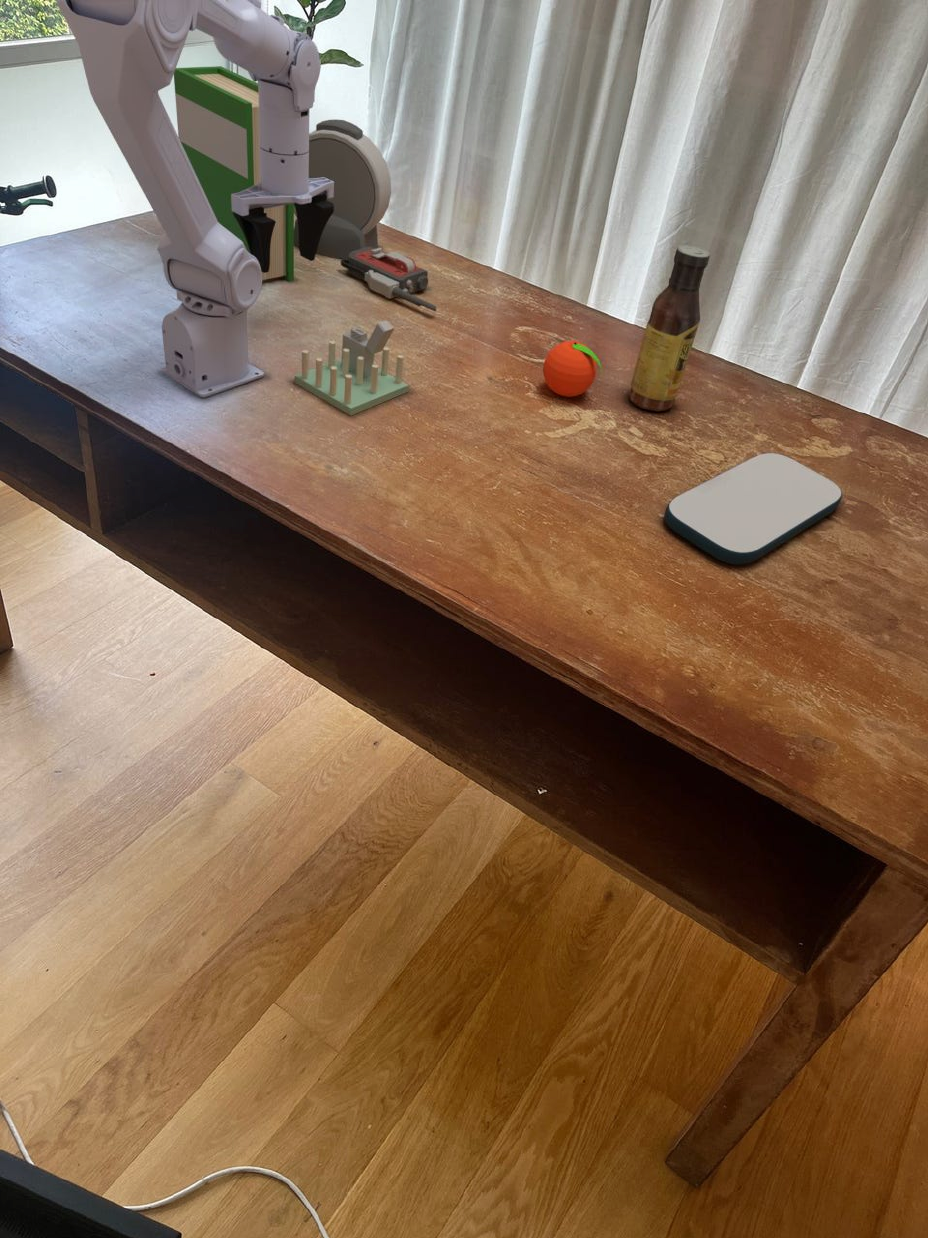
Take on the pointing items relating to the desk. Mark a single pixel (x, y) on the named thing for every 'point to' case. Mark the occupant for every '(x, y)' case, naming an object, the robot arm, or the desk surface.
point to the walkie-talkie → (388, 274)
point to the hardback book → (229, 151)
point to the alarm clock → (348, 187)
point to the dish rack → (351, 381)
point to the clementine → (570, 368)
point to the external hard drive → (752, 507)
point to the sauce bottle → (670, 333)
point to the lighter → (366, 345)
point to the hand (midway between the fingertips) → (284, 263)
